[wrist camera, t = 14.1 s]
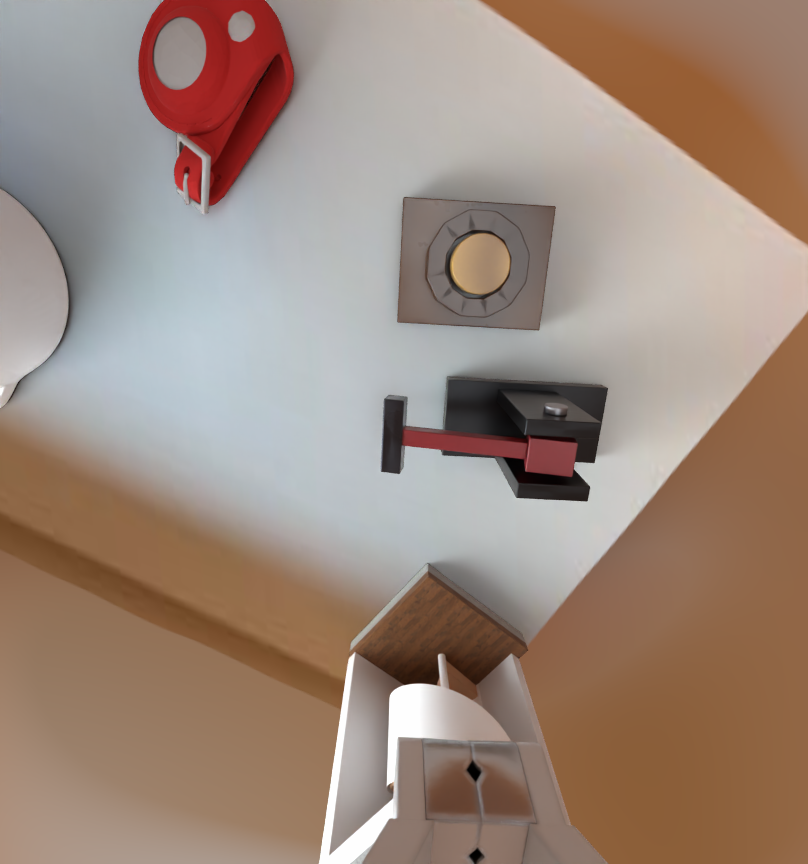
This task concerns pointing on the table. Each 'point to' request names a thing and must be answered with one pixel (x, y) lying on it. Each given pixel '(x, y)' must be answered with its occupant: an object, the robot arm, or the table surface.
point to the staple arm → (471, 444)
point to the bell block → (431, 252)
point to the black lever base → (529, 425)
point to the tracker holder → (214, 86)
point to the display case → (421, 700)
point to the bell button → (480, 264)
